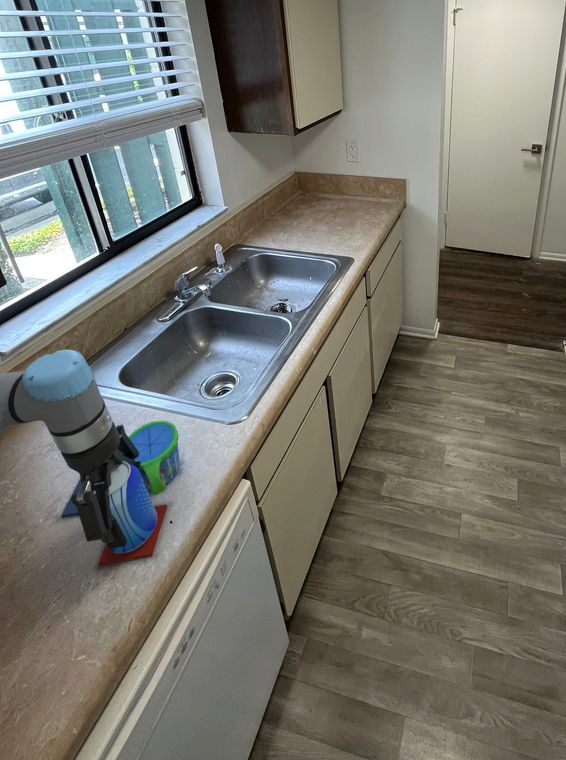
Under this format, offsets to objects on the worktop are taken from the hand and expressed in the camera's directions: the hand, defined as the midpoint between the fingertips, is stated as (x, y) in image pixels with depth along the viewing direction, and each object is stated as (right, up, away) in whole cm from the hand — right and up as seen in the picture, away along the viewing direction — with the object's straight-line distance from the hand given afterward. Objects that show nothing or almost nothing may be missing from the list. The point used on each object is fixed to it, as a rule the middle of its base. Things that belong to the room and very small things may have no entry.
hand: (128, 518), depth 81 cm
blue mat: (-12, 0, +11) cm, 16 cm away
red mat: (0, -4, +2) cm, 5 cm away
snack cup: (-1, +1, +13) cm, 13 cm away
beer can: (0, -4, +2) cm, 5 cm away
